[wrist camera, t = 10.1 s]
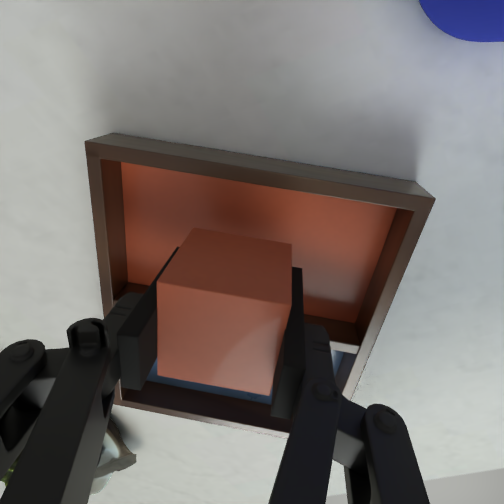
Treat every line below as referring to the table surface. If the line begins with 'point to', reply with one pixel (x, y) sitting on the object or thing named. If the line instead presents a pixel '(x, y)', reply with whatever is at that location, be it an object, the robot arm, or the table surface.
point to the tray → (257, 226)
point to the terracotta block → (224, 310)
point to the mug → (468, 18)
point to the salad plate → (101, 459)
